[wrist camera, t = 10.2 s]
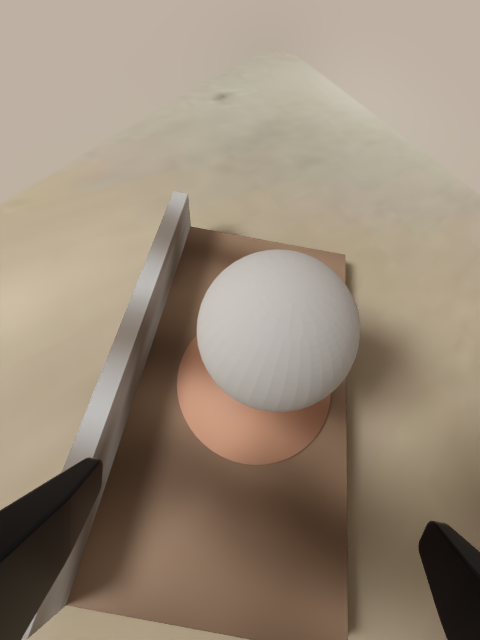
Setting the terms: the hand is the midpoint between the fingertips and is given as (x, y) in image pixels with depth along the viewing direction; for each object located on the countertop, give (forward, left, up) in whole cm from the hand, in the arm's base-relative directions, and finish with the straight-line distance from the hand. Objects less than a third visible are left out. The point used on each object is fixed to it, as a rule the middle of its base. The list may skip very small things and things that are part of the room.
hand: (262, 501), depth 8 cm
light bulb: (+5, -3, -8) cm, 10 cm away
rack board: (+6, -2, -9) cm, 11 cm away
